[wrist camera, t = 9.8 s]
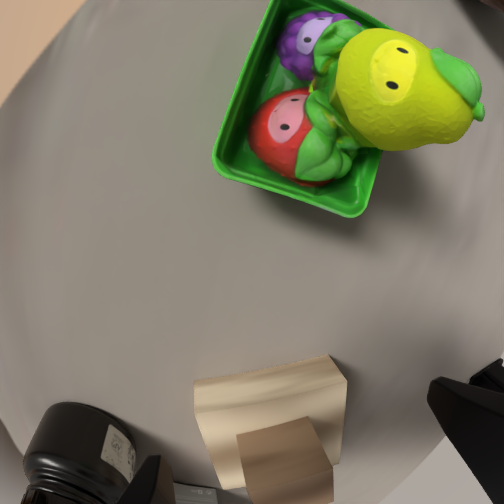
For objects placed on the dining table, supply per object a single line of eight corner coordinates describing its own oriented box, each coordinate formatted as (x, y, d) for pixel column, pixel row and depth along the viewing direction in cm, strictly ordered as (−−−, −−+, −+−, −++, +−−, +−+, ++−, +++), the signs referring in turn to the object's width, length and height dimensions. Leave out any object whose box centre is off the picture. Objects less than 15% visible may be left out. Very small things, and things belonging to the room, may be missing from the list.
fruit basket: (261, 15, 15) (320, -101, 5) (379, 67, 17) (498, 16, 6) (204, 174, 17) (209, 166, 7) (339, 217, 19) (470, 263, 8)
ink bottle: (128, 476, 22) (118, 574, 11) (46, 445, 20) (13, 535, 9) (147, 419, 21) (134, 549, 9) (46, 379, 19) (-13, 489, 7)
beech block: (324, 434, 25) (338, 463, 21) (218, 456, 23) (223, 489, 20) (326, 351, 22) (347, 381, 18) (194, 377, 21) (194, 413, 17)
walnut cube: (312, 454, 20) (333, 501, 15) (250, 471, 19) (262, 521, 14) (307, 415, 18) (333, 468, 14) (235, 434, 18) (247, 492, 13)
